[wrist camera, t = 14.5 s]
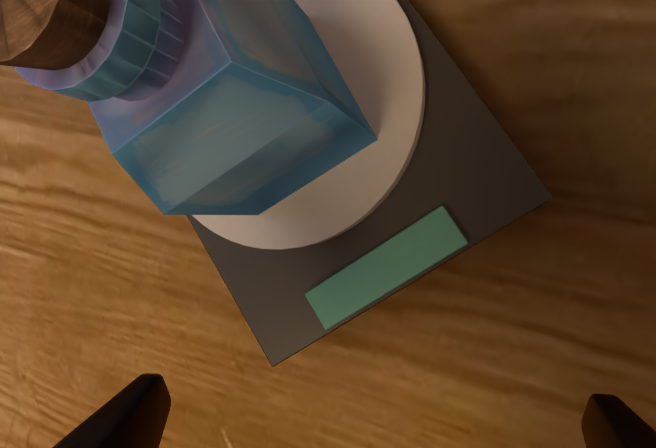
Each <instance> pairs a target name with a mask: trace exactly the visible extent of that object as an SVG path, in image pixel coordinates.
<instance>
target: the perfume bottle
mask: <svg viewBox="0 0 656 448" xmlns="http://www.w3.org/2000/svg"><path fill="white" fill-rule="evenodd" d="M0 65H6V66H14V68H15V70H16V71H17V73H18V74H19V75H21V76H22V77H23V78H24V79H26V80H27V81H28V82H30V83H31V84H32V85H33V86H36V87H40V88H43V89H46V90H50V91H53V92H56V93H60V94H63V95H67V96H70V97H73V98H77V99H81V100H85V101H87V102H88V104H89V107H90V109H91V111H92V113H93V115H94V117H95V120H96V122H97V124H98V126H99V128H100V130H101V132H102V135H103V137H104V139H105V141H106V143H107V145H108V148H109V150H110V152H111V154H112V155H113V157H114V158H115V159H116V160H117V161H118V162H119V164H120V165H121V166H122V167H123V168H124V169H125V170H126V172H127V173H128V174H129V175H130V176H131V177H132V178H133V180H134V181H135V182H136V183H137V184H138V185H139V186H140V188H141V189H142V190H143V191H144V192H145V193H146V194H147V196H148V197H149V198H150V199H151V200H152V201H153V203H154V204H155V205H156V206H157V207H158V208H159V209H160V211H161V212H162V213H163V214H164V215H259V214H261V213H262V212H264V211H266V210H267V209H269V208H270V207H272V206H274V205H275V204H277V203H278V202H280V201H281V200H283V199H285V198H286V197H288V196H289V195H291V194H293V193H294V192H296V191H297V190H299V189H300V188H302V187H304V186H305V185H307V184H308V183H310V182H312V181H313V180H315V179H316V178H318V177H320V176H321V175H323V174H324V173H326V172H327V171H329V170H331V169H332V168H334V167H335V166H337V165H339V164H340V163H342V162H343V161H345V160H347V159H348V158H350V157H351V156H353V155H354V154H356V153H358V152H359V151H361V150H362V149H364V148H366V147H367V146H369V145H370V144H372V143H373V142H375V141H377V140H378V139H377V137H376V136H375V134H374V132H373V130H372V129H371V127H370V125H369V123H368V122H367V120H366V118H365V116H364V115H363V113H362V111H361V109H360V108H359V106H358V104H357V102H356V101H355V99H354V97H353V95H352V93H351V92H350V90H349V88H348V86H347V85H346V83H345V81H344V79H343V78H342V76H341V74H340V72H339V71H338V69H337V67H336V65H335V64H334V62H333V60H332V58H331V57H330V55H329V53H328V51H327V50H326V48H325V46H324V44H323V42H322V41H321V39H320V37H319V35H318V34H317V32H316V30H315V28H314V27H313V25H312V23H311V21H310V20H309V18H308V16H307V15H306V14H305V12H304V11H303V10H302V9H301V8H300V7H299V5H298V4H297V3H296V2H295V1H294V0H0Z"/></svg>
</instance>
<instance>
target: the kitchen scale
mask: <svg viewBox="0 0 656 448" xmlns="http://www.w3.org/2000/svg"><path fill="white" fill-rule="evenodd" d="M294 1H295V2H296V3H297V4H298V5H299V7H300V8H301V9H302V10H303V11H304V12H305V14H306V15H307V16H308V18H309V20H310V21H311V23H312V25H313V27H314V28H315V30H316V32H317V34H318V35H319V37H320V39H321V41H322V42H323V44H324V46H325V48H326V50H327V51H328V53H329V55H330V57H331V58H332V60H333V62H334V64H335V65H336V67H337V69H338V71H339V72H340V74H341V76H342V78H343V79H344V81H345V83H346V85H347V86H348V88H349V90H350V92H351V93H352V95H353V97H354V99H355V101H356V102H357V104H358V106H359V108H360V109H361V111H362V113H363V115H364V116H365V118H366V120H367V122H368V123H369V125H370V127H371V129H372V130H373V132H374V134H375V136H376V137H377V139H378V140H377V141H375V142H373V143H372V144H370V145H369V146H367V147H366V148H364V149H362V150H361V151H359V152H358V153H356V154H354V155H353V156H351V157H350V158H348V159H347V160H345V161H343V162H342V163H340V164H339V165H337V166H335V167H334V168H332V169H331V170H329V171H327V172H326V173H324V174H323V175H321V176H320V177H318V178H316V179H315V180H313V181H312V182H310V183H308V184H307V185H305V186H304V187H302V188H300V189H299V190H297V191H296V192H294V193H293V194H291V195H289V196H288V197H286V198H285V199H283V200H281V201H280V202H278V203H277V204H275V205H274V206H272V207H270V208H269V209H267V210H266V211H264V212H262V213H261V214H259V215H187V216H188V218H189V220H190V221H191V223H192V225H193V227H194V229H195V230H196V232H197V234H198V236H199V237H200V239H201V241H202V243H203V245H204V246H205V248H206V250H207V252H208V253H209V255H210V257H211V259H212V261H213V262H214V264H215V266H216V268H217V269H218V271H219V273H220V275H221V277H222V278H223V280H224V282H225V284H226V285H227V287H228V289H229V291H230V293H231V294H232V296H233V298H234V300H235V301H236V303H237V305H238V307H239V309H240V310H241V312H242V314H243V316H244V317H245V319H246V321H247V323H248V325H249V326H250V328H251V330H252V332H253V333H254V335H255V337H256V339H257V341H258V342H259V344H260V346H261V348H262V349H263V351H264V353H265V355H266V357H267V358H268V360H269V362H270V364H271V365H272V367H274V366H276V365H277V364H279V363H280V362H282V361H284V360H285V359H287V358H289V357H290V356H292V355H294V354H295V353H297V352H299V351H300V350H302V349H304V348H305V347H307V346H309V345H310V344H312V343H314V342H315V341H317V340H319V339H320V338H322V337H323V336H325V335H327V334H328V333H330V332H332V331H333V330H335V329H337V328H338V327H340V326H342V325H343V324H345V323H347V322H348V321H350V320H352V319H353V318H355V317H357V316H358V315H360V314H362V313H363V312H365V311H366V310H368V309H370V308H371V307H373V306H375V305H376V304H378V303H380V302H381V301H383V300H385V299H386V298H388V297H390V296H391V295H393V294H395V293H396V292H398V291H400V290H401V289H403V288H405V287H406V286H408V285H409V284H411V283H413V282H414V281H416V280H418V279H419V278H421V277H423V276H424V275H426V274H428V273H429V272H431V271H433V270H434V269H436V268H438V267H439V266H441V265H443V264H444V263H446V262H448V261H449V260H451V259H452V258H454V257H456V256H457V255H459V254H461V253H462V252H464V251H466V250H467V249H469V248H471V247H472V246H474V245H476V244H477V243H479V242H481V241H482V240H484V239H486V238H487V237H489V236H491V235H492V234H494V233H495V232H497V231H499V230H500V229H502V228H504V227H505V226H507V225H509V224H510V223H512V222H514V221H515V220H517V219H519V218H520V217H522V216H524V215H525V214H527V213H529V212H530V211H532V210H534V209H535V208H537V207H538V206H540V205H542V204H543V203H545V202H547V201H548V200H550V199H552V195H551V194H550V192H549V191H548V189H547V188H546V187H545V185H544V184H543V183H542V181H541V180H540V179H539V177H538V176H537V174H536V173H535V172H534V170H533V169H532V168H531V166H530V165H529V163H528V162H527V161H526V159H525V158H524V157H523V155H522V154H521V153H520V151H519V150H518V148H517V147H516V146H515V144H514V143H513V142H512V140H511V139H510V137H509V136H508V135H507V133H506V132H505V131H504V129H503V128H502V127H501V125H500V124H499V122H498V121H497V120H496V118H495V117H494V116H493V114H492V113H491V111H490V110H489V109H488V107H487V106H486V105H485V103H484V102H483V101H482V99H481V98H480V96H479V95H478V94H477V92H476V91H475V90H474V88H473V87H472V85H471V84H470V83H469V81H468V80H467V79H466V77H465V76H464V75H463V73H462V72H461V70H460V69H459V68H458V66H457V65H456V64H455V62H454V61H453V59H452V58H451V57H450V55H449V54H448V53H447V51H446V50H445V49H444V47H443V46H442V44H441V43H440V42H439V40H438V39H437V38H436V36H435V35H434V33H433V32H432V31H431V29H430V28H429V27H428V25H427V24H426V23H425V21H424V20H423V18H422V17H421V16H420V14H419V13H418V12H417V10H416V9H415V7H414V6H413V5H412V3H411V2H410V1H409V0H294Z"/></svg>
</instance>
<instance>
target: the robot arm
mask: <svg viewBox="0 0 656 448" xmlns="http://www.w3.org/2000/svg"><path fill="white" fill-rule="evenodd" d="M170 407H171V398H170V395H169V392H168V389H167V387H166V384H165V381H164V379H163V377H162V376H161V375H160V374H149V373H146V374H142V375H140V376H139V377H137V378H136V379H135V380H134V381H133V382H131V383H130V384H129V385H128V386H126V387H125V388H124V389H123V390H122V391H120V392H119V393H118V394H117V395H116V396H114V397H113V398H112V399H111V400H109V401H108V402H107V403H106V404H105V405H103V406H102V407H101V408H100V409H98V410H97V411H96V412H95V413H94V414H92V415H91V416H90V417H89V418H88V419H86V420H85V421H84V422H83V423H81V424H80V425H79V426H78V427H77V428H75V429H74V430H73V431H72V432H70V433H69V434H68V435H67V436H66V437H64V438H63V439H62V440H61V441H60V442H58V443H57V444H56V445H55V446H53V447H52V448H159V444H160V441H161V438H162V434H163V431H164V428H165V424H166V421H167V418H168V414H169V411H170ZM582 432H583V436H584V440H585V444H586V447H587V448H656V431H654V430H653V429H652V428H651V427H650V426H649V425H648V424H647V423H646V422H645V421H643V420H642V419H641V418H640V417H639V416H638V415H637V414H636V413H635V412H634V411H632V410H631V409H630V408H629V407H628V406H627V405H626V404H625V403H624V402H623V401H621V400H620V399H619V398H618V397H616V396H614V395H611V394H592V395H591V396H590V398H589V400H588V403H587V406H586V409H585V412H584V415H583V418H582Z"/></svg>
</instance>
